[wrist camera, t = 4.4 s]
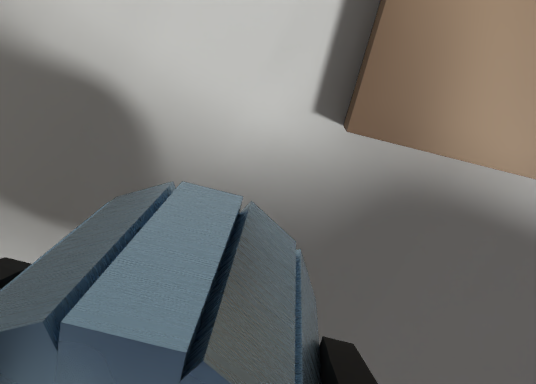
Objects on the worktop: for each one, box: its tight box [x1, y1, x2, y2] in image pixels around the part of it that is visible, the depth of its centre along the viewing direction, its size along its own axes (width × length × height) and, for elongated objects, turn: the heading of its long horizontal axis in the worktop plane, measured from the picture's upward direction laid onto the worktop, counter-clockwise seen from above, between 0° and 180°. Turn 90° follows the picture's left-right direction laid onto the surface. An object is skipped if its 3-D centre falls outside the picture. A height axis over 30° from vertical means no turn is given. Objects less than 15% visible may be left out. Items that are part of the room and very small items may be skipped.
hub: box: [0, 181, 322, 384], centre depth 8 cm, size 6×6×5 cm
